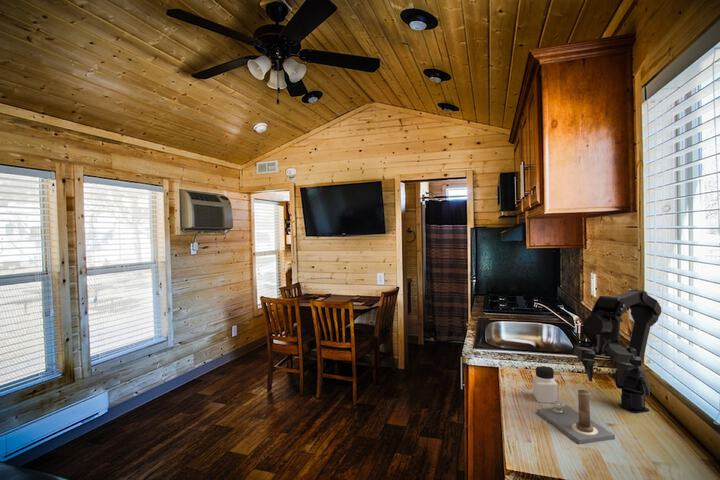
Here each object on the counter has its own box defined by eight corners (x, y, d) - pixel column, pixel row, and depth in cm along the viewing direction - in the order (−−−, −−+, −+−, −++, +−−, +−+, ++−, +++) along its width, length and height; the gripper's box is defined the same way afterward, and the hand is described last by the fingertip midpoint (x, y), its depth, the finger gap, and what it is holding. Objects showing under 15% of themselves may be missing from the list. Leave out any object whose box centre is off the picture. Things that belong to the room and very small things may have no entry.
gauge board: (567, 409, 133) (567, 405, 133) (614, 438, 113) (614, 434, 113) (536, 413, 131) (536, 409, 130) (579, 444, 111) (579, 439, 111)
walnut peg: (588, 424, 119) (587, 388, 119) (596, 432, 114) (595, 395, 114) (573, 424, 119) (572, 388, 119) (580, 432, 115) (579, 395, 115)
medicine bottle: (558, 403, 137) (557, 371, 137) (537, 402, 138) (536, 370, 138) (552, 395, 144) (552, 364, 144) (533, 394, 145) (532, 363, 145)
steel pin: (558, 408, 130) (558, 399, 130) (565, 413, 127) (565, 403, 127) (550, 409, 130) (550, 400, 130) (557, 414, 127) (556, 404, 127)
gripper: (593, 335, 116) (589, 386, 115) (656, 343, 115) (652, 395, 114) (574, 329, 127) (570, 376, 126) (631, 336, 126) (628, 384, 125)
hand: (605, 383), depth 122 cm, fingers open, 9 cm apart
